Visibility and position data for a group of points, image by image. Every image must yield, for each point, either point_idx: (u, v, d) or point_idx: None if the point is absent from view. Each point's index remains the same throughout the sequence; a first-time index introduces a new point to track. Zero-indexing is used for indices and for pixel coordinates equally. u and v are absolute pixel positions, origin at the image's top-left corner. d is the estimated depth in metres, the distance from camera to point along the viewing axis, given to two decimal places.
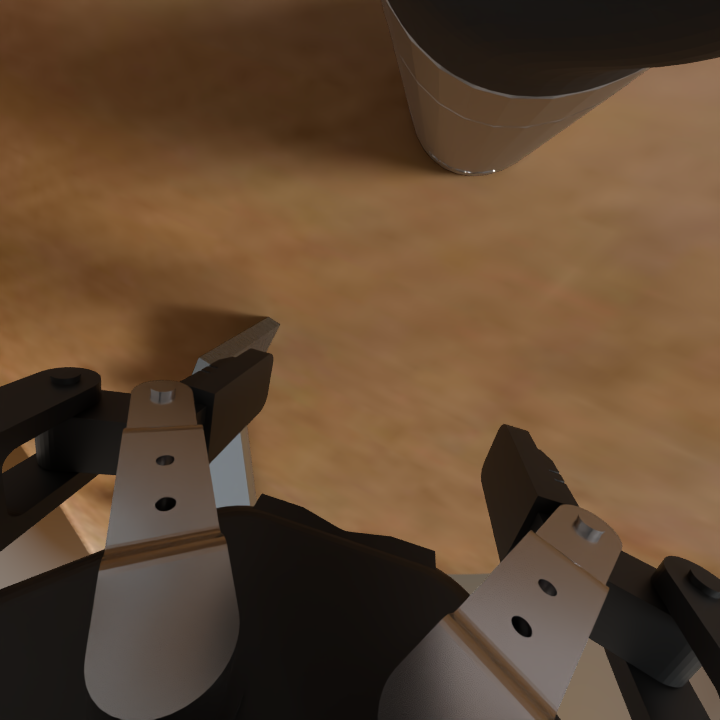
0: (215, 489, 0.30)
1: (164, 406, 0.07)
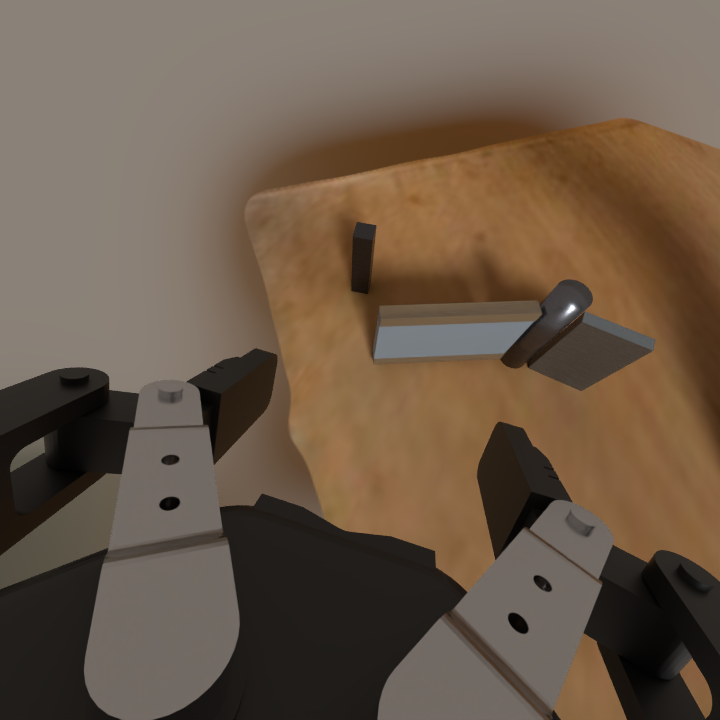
0: (479, 333, 0.33)
1: (170, 407, 0.08)
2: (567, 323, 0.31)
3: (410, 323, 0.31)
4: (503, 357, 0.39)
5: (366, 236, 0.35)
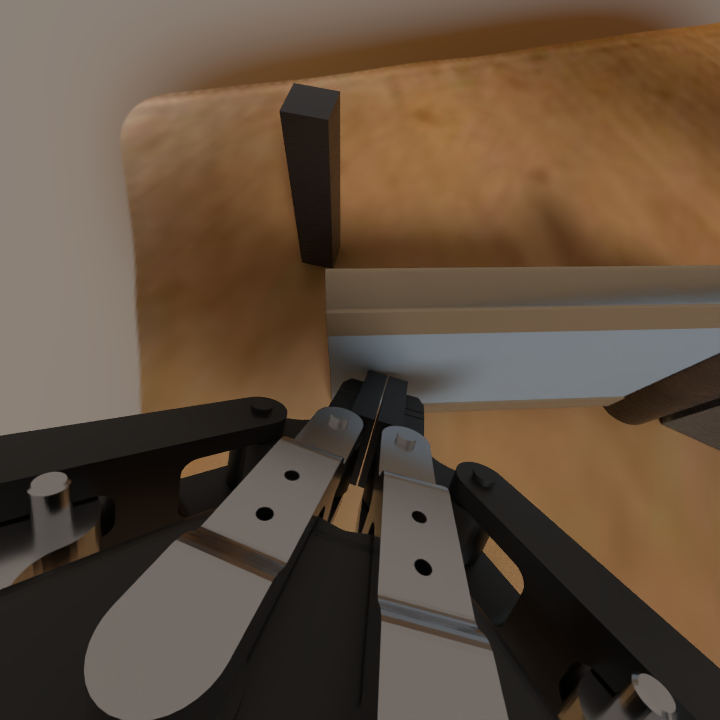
0: (604, 355, 0.12)
1: (332, 432, 0.08)
2: None
3: (423, 327, 0.10)
4: None
5: (314, 111, 0.14)
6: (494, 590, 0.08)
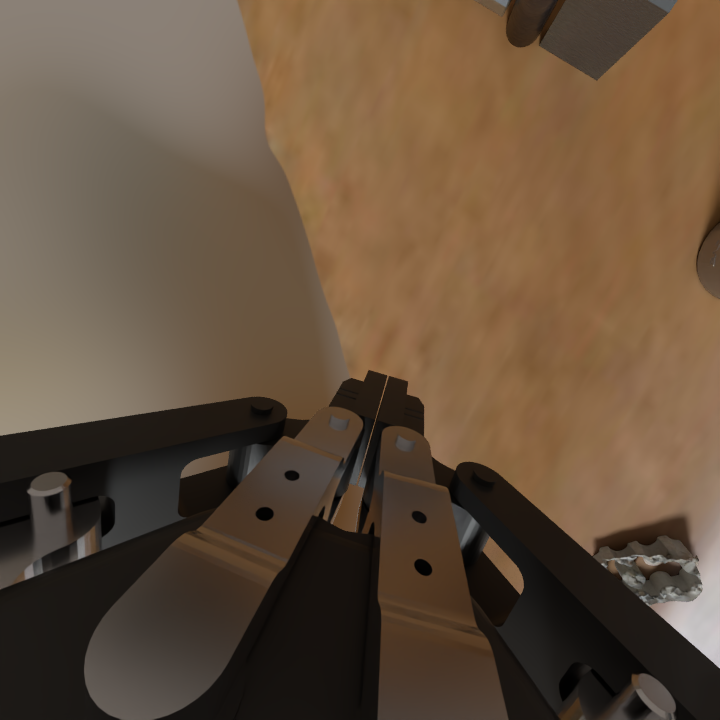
0: None
1: (332, 432, 0.08)
2: None
3: None
4: (508, 29, 0.31)
5: None
6: (494, 590, 0.08)
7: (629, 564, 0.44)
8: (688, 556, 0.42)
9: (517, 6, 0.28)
